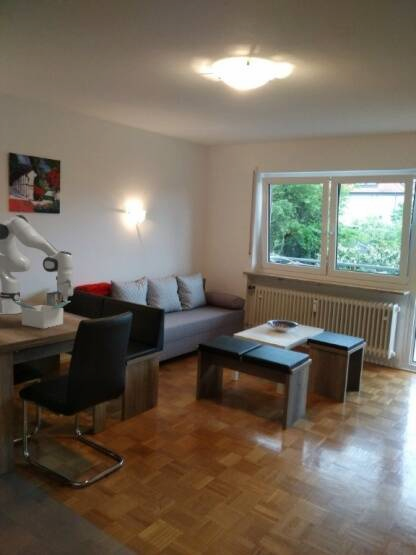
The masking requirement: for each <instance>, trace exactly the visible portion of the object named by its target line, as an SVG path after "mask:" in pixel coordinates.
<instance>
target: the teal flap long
mask: <svg viewBox="0 0 416 555" xmlns="http://www.w3.org/2000/svg"><path fill="white" fill-rule="evenodd" d="M20 302H21V301H20ZM20 302H14V303H16V304H18V305H20V306H21V308H29V309H35V310H36V308H34V307H33V306H31V305H30V304H28V303H25V302H21V303H20Z"/></svg>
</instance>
